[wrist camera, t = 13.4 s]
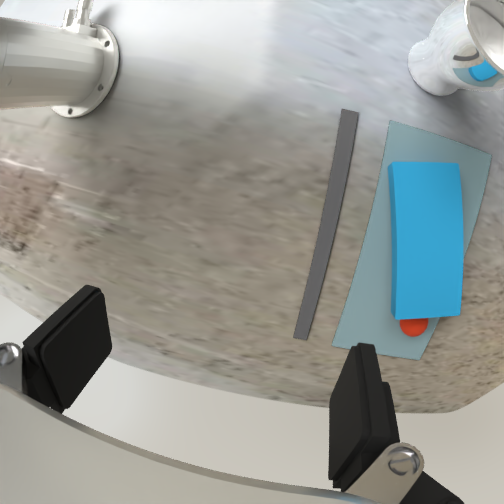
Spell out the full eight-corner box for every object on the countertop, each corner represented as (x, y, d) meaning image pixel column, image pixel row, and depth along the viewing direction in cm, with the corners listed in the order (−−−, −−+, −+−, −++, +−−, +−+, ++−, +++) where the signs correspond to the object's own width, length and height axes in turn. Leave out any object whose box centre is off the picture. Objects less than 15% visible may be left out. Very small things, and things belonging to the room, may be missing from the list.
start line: (341, 109, 28) (342, 108, 27) (357, 112, 27) (358, 112, 27) (293, 336, 38) (293, 337, 37) (306, 338, 37) (306, 340, 37)
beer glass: (452, 35, 22) (525, -11, 8) (471, 97, 24) (560, 87, 10) (394, 38, 23) (443, -23, 10) (414, 103, 26) (483, 86, 12)
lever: (380, 173, 33) (381, 332, 34) (392, 161, 26) (392, 356, 27) (436, 173, 31) (435, 329, 32) (458, 163, 24) (455, 350, 26)
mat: (389, 120, 27) (390, 120, 26) (490, 154, 25) (491, 155, 25) (331, 343, 37) (331, 345, 37) (418, 358, 35) (419, 360, 35)
